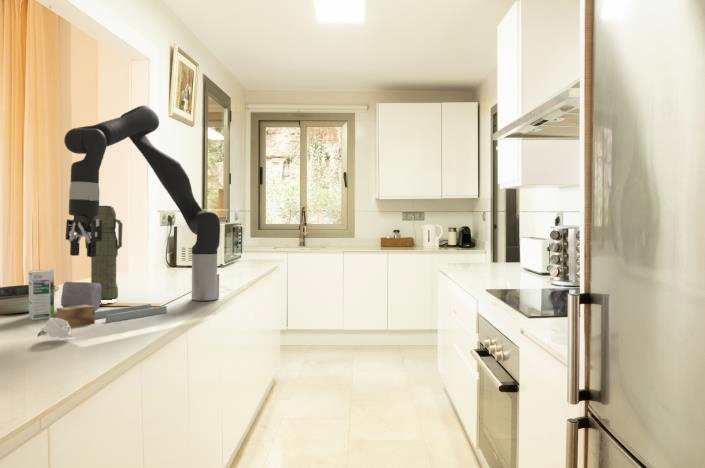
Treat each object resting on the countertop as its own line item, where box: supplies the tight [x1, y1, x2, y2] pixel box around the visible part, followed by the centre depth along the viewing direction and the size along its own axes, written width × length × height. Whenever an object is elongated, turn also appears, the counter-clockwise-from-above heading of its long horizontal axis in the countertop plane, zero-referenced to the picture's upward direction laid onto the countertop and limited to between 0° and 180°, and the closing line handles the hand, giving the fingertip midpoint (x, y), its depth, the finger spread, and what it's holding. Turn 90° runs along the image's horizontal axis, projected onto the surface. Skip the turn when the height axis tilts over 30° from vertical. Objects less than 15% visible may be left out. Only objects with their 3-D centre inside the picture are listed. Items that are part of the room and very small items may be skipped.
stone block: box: [60, 281, 101, 312], centre depth 156 cm, size 12×5×10 cm, turn 84°
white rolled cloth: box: [37, 317, 72, 339], centre depth 121 cm, size 8×7×5 cm
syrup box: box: [28, 269, 55, 321], centre depth 146 cm, size 6×6×14 cm
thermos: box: [84, 205, 124, 300], centre depth 172 cm, size 9×12×35 cm
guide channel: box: [95, 303, 168, 323], centre depth 151 cm, size 20×9×2 cm, turn 149°
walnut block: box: [56, 305, 96, 328], centre depth 137 cm, size 8×5×5 cm, turn 145°
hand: (82, 256), depth 138 cm, fingers open, 8 cm apart
